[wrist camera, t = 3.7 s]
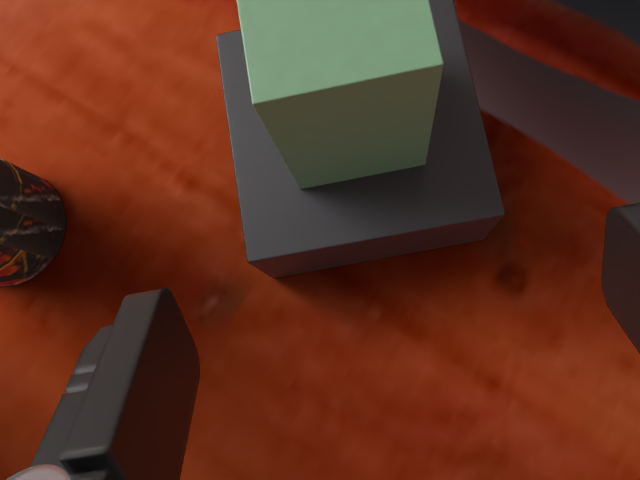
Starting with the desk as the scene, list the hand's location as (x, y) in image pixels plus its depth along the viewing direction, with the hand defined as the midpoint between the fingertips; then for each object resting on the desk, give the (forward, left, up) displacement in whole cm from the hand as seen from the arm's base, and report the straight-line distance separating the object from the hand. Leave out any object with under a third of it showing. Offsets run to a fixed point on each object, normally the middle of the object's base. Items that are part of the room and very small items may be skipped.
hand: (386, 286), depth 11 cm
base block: (0, +8, -16) cm, 18 cm away
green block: (0, +8, -11) cm, 14 cm away
